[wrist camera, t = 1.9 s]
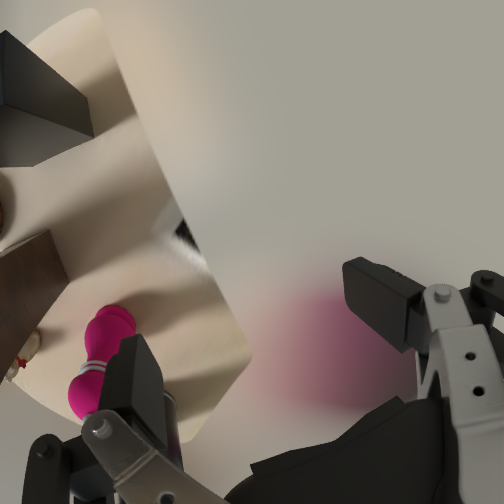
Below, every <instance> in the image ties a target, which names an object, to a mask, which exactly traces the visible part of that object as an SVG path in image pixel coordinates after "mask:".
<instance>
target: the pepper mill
mask: <svg viewBox="0 0 504 504" xmlns="http://www.w3.org/2000/svg"><path fill="white" fill-rule="evenodd" d="M132 335H135V322H134V319H133V317H132V316H131V314H130V313H129V312H128V311H126V310H125V309H123V308H121V307H119V306H114V305H110V306H105V307H103V308H101V309H100V310H99V311H98V312H97V314H96V316H95V318H94V319H93V320H91V321H90V323H89V324H88V326H87V329H86V332H85V347H86V351H87V353H88V358H87V362H86V363H84V364H83V365H82V366H81V368H80V371H79V374H78V376H77V377H75V378H74V379H73V380H72V382H71V384H70V386H69V390H68V400H69V404H70V407H71V408H72V410H73V412H74V413H75V414H76V415H77V416H78V417H79V418H80V419H81V420H82V423H83V424H84V422H85V421H86V420H87V418H88V417H90V416H91V415H92V414H94V413H95V412H97V409H98V404H99V398H100V393H101V388H102V385H103V378H104V376H105V375H104V374H105V369H106V365H107V363H108V362H109V360H110V359H111V357H112V356H113V355H114V354H118V351H119V346H120V341H121V339H122V338H125V337H129V336H132Z"/></svg>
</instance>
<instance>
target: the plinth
mask: <svg viewBox="0 0 504 504" xmlns="http://www.w3.org/2000/svg"><path fill="white" fill-rule="evenodd" d="M69 283H70V282H69V280H68V278H67V275H66V273H65V271H64V268H63V266H62V263H61V260H60V258H59V255H58V253H57V250H56V247H55V244H54V242H53V239H52V236H51V233H50V230H46V231H44V232H42V233H40V234H37V235H35V236H33V237H31V238H29V239H27V240H24V241H22V242H20V243H18V244H16V245H14V246H12V247H10V248H8V249H6V250H4V251H2V252H0V384H1V382H2V380H3V379H4V377H5V375H6V374H7V372H8V370H9V369H10V367H11V365H12V364H13V362H14V360H15V359H16V357H17V355H18V354H19V352H20V351H21V349H22V348H23V346H24V345H25V343H26V341H27V340H28V338H29V337H30V336H31V334H32V333H33V331H34V330H35V328H36V327H37V325H38V324H39V322H40V321H41V320H42V318H43V317H44V316H45V314H46V313H47V311H48V310H49V309H50V307H51V306H52V305H53V303H54V302H55V301H56V299H57V298H58V297H59V295H60V294H61V293H62V292H63V290H64V289H65V288H66V287H67V285H68V284H69Z"/></svg>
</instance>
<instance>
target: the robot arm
mask: <svg viewBox="0 0 504 504" xmlns="http://www.w3.org/2000/svg"><path fill="white" fill-rule="evenodd" d="M342 272H343V282H344V293H345V300H346V303H347V306H348V307H349V309H350V310H351V311H352V312H353V313H354V314H356V315H357V316H358V317H359V318H360V319H361V320H363V321H364V322H365V323H366V324H367V325H368V326H370V327H371V328H372V329H373V330H374V331H376V332H377V333H378V334H379V335H380V336H381V337H383V338H384V339H385V340H386V341H388V343H390V344H391V345H392V346H393V347H394V348H395V349H397V350H398V351H399V352H400V353H404V352H405V351H407V350H408V349H410V348H411V347H413V348H414V349H415V350H416V366H417V380H418V400H413V401H409V402H406V403H404V402H403V401H402V400H401V399H400V398H399V397H398V396H395V397H394V398H392V399H391V400H389V401H388V402H386V403H384V404H383V405H381V406H379V407H378V408H376V409H374V410H373V411H371V412H369V413H367V414H366V415H365V416H364V417H362V418H361V419H360V420H359V421H358V422H357V423H356V424H354V425H353V426H352V427H351V428H350V429H349V430H347V431H346V432H345V433H344V434H343V435H341V436H340V437H339V438H338V439H336V440H334V441H332V442H329V443H324V444H320V445H316V446H311V447H306V448H301V449H296V450H290V451H288V452H285V453H282V454H280V455H277V456H274V457H271V458H268V459H266V460H262V461H259V462H256V463H253V464H250V466H251V470H252V472H253V475H251V476H249V477H248V478H246V479H245V480H243V481H242V482H240V483H239V484H238V485H236V486H235V487H234V488H233V489H232V490H231V491H230V492H229V493H228V494H227V495H226V496H225V498H224V499H222V498H221V497H219V496H218V495H216V494H215V493H213V492H212V491H210V490H209V489H207V488H206V487H204V486H203V485H201V484H200V483H199V482H197V481H196V480H194V479H193V478H192V477H190V476H189V475H188V474H186V473H185V472H184V468H183V462H182V456H181V448H180V441H179V433H178V424H177V415H176V402H175V400H174V398H173V397H172V396H171V395H170V394H169V393H167V392H166V391H164V389H163V376H162V373H161V370H160V367H159V365H158V363H157V361H156V359H155V358H154V356H153V354H152V352H151V350H150V348H149V347H148V345H147V343H146V341H145V339H144V337H143V336H142V335H141V334H140V333H139V334H136V335H132V336H129V337H125V338H122V339H121V341H120V346H119V351H118V354H114V355H113V356H112V357H111V359H110V360H109V362H108V363H107V365H106V369H105V374H104V375H105V376H104V378H103V385H102V388H101V393H100V398H99V404H98V409H97V412H95V413H94V414H92V415H91V416H90V417H88V418H87V420H86V421H85V422H84V424H83V426H82V430H81V435H80V436H78V437H76V438H73V439H70V440H68V441H66V442H62V441H61V440H60V439H59V438H58V437H57V436H55V435H53V434H45V435H42V436H40V437H39V438H38V439H36V440H35V441H34V443H33V444H32V446H31V449H30V452H29V457H28V462H27V467H26V473H25V479H24V487H23V495H22V504H69V498H70V493H71V494H72V495H74V504H115V501H114V493H116V492H117V493H118V504H504V334H503V333H502V332H500V331H499V330H498V329H496V328H495V327H493V322H494V318H495V314H496V312H497V313H499V314H500V315H502V316H503V317H504V277H503V276H501V275H499V274H497V273H495V272H492V271H488V270H480V271H476V272H474V273H473V274H472V276H471V282H470V287H468V288H464V289H461V290H458V289H456V288H455V287H453V286H451V285H447V284H435V285H431V286H429V287H428V288H426V287H424V286H423V285H421V284H419V283H417V282H415V281H414V280H412V279H410V278H408V277H406V276H403V275H402V274H401V273H399V272H395V270H393V269H391V268H389V267H387V266H385V265H380V264H375V263H372V262H370V261H368V260H367V259H365V258H363V257H357V258H355V259H352V260H350V261H347V262H345V263H344V264H343V266H342Z"/></svg>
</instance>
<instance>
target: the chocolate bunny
mask: <svg viewBox="0 0 504 504" xmlns="http://www.w3.org/2000/svg"><path fill="white" fill-rule="evenodd" d="M40 344H41V343H40V336H39V332H38V331H37V330H34V331H33V333H32V334H31V336H30V337H29V338H28V340H27V341H26V343H25V345H24V346H23V348H22V349H21V351H20V352H19V354H18V355H17V357H16V359H15V360H14V362H13V364H12V365H11V367H10V369H9V370H8V372H7V374H6V375H5V377H4V379H6V381H7V382H11V380H12V378H14V377H15V376H16V375H17V373H18V370H19V367H23V368H24V369H25V367H26V363H27V362H29V361H30V360H31V359H32V358H33V357H34V355H35V354H36V353H37V351H38V349H39V347H40Z"/></svg>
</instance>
